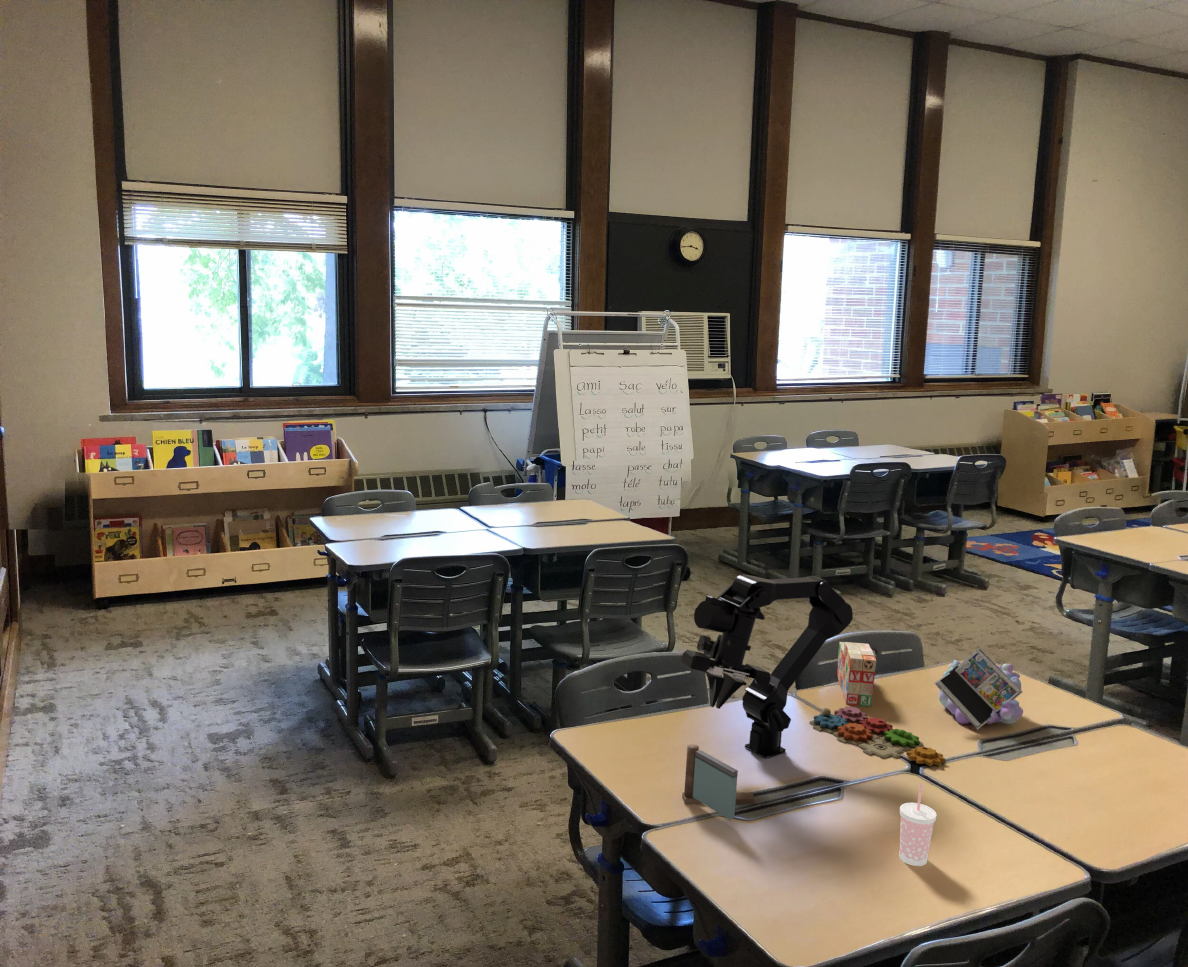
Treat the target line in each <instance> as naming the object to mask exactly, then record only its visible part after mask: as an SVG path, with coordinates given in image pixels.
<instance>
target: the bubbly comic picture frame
mask: <svg viewBox="0 0 1188 967" xmlns="http://www.w3.org/2000/svg"><path fill="white" fill-rule="evenodd" d="M1013 670H1014V665H1013V663H1004V664H1003V665H998V664H996V662H995V661H993V660H992V658H991V657H990V656H988V655H987V653H985V651H983V649H982V648H981V647H978V648H977V649H975V650H974V651H973V652H971V653H970V654H969V655H968V656H967V657H966V658H965V659H963V660H962V661H961V662H960V661H959V660H957V659H953V661H952V662H950V663H949V665H948V669H946V671H944V673H943V674H942V677H940V678H939V679H938V680H935V682H934V685H935V686H936V687H937V688H938V689H939V692H938V701H939V702H940V704H941V705H942V706H943V707H944V708H945V709H947V710H948V711H949V712H950V713H951V714H952V715H954V716H955V720H956V721H957V722H958V723H959V724H964V725H965V724H972V725H973V726H974V728H975V729H976V730H979V729H980V728H982V726H984V725H985V724H988V725H991V724H993V723H1002V724H1006V725H1013V724H1015V723H1017V721H1018V720H1019V719H1020V718H1021V717H1022V715H1024V710H1023V708H1022V707H1021V706H1020V702H1019V701H1018V700H1017V699H1016V698H1018V697H1019V696H1020V695H1022V693H1023V690H1022V681H1021V680H1020V678H1021V675H1020V673H1017V672H1015V671H1013Z"/></svg>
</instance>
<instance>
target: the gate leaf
mask: <svg viewBox="0 0 1188 967" xmlns="http://www.w3.org/2000/svg"><path fill="white" fill-rule="evenodd" d="M738 773H739V770H737V769H736V768H734V767H732V766H731V765H729V764H727V763H725V762H723V761H722V760H719V759H718V758H716V757H714V756H712V755H711V754H709V753H707V752H705V751H703V750H701V749H699V750H698V751H696V755H695V770H694V784H693V798H695V799H697V800H698V801H700V802H701V803H703V804H702V805H705V806H706V807H708V808H710V810H711V809H712V810H713V811H715V812H716V813H718V814H719V815H721V816H723V817H724V818H726V819H728V820H729V821H730V820H733V819H734V818H735V816H736V815H735V814H736V813H735V811H736V804H735V801H736V792H737V786H738Z"/></svg>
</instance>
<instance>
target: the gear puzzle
mask: <svg viewBox="0 0 1188 967" xmlns="http://www.w3.org/2000/svg"><path fill="white" fill-rule="evenodd" d="M831 712H832V711H831V710H830V708H828V707H825V708H823V709H822V712H821V713H819V715H818V714H817V715H814V716H813V720H810V721H809V725H810V726H812V729H813V730H816V731H817V732H826V733H827V734H830V735H833V736H834V737H835V738H836V740H837V741H838V742H840V743H842V744H846V743H848V744H850V745H852V746H855V747H858V748H859V749H861V750H862V753H863V754H865V755H867V756H870V757H872V756H875V757H878V758H879V757H880V759H883V760H886V759H889V758H893V759H895V758H896V759H899V758H901V757H902V754H903V752H906V753H905V754H906V756H907V757H908V760H909V761H915V762H916V764H919V765H922V764H924V765H926V766H928V767H931V766H933V765H935V766H942V763H946V761H947V760H946V758H945V757H944V755H943V753H940V752H937V750H936V749H934V748H931V747H926V746H924V742H922V741H920V737H919V736H917V735H914V734H913V733H912V732H911V731H910V732H909V731H906V730H905V729H899V728H893V726H894V725H893V724H890V723H887V721H886V720H884V719H882V718H878V717H868V714H867V713H866V712H863V711H862V710H861V709H860V708H857V707H855V706H852V705H849V706H844V707H839V709H837V710H834V711H833V713H834V714H832V713H831ZM885 758H886V759H885Z"/></svg>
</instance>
